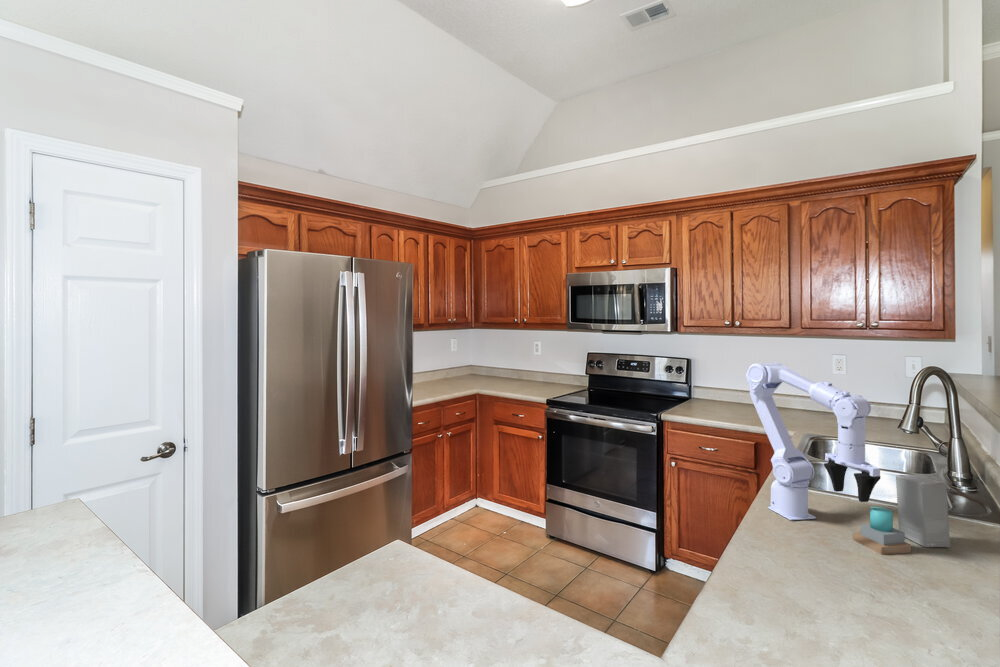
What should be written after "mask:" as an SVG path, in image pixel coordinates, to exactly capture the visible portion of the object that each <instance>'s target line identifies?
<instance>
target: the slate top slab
mask: <svg viewBox="0 0 1000 667" xmlns="http://www.w3.org/2000/svg"><path fill="white" fill-rule="evenodd" d="M860 532H861V535H863V536H865V537H867V538H869V539H871V540H873V541H875V542H878V543H880V544H882V545H891V544H900V543H905V542H906V540H905V538H906V537H905V533H904V532H902V531H899V529H897V528H895V527H893V531H892V532H882V531H878V530H875V529H873V528H871V527H870V523H867V524H865V523H864V524H860Z"/></svg>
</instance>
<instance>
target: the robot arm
mask: <svg viewBox="0 0 1000 667" xmlns="http://www.w3.org/2000/svg"><path fill="white" fill-rule="evenodd" d="M745 379H746V381H747V383H748V385H749V396H750V399H751V401H752V403H753V406H754V408H755V410H756V413H757V415H758V417H759V419H760V422H761V424H762V426H763V428H764V431H765V433H766V434H765V435H766V436H767V438H768V440H769V442H770V445H771V447H772V449H773V455H772V457H771V459H770V462H771V465H772V473H773V477H774V478H775V480H773V481H772V483H771V485H770V506H767V508H768V509H769V510H771V511H773V512H775V513H776V514H778V515H780V516H782V517H784V518H785V519H788V520H789V521H799V520H800V521H802V520H815V519H816V518H817V517H816V516H814V515H813V514H812V513H811V514H810V513H809V484H810V480H812V479H813V478H814V475H815V469H814V465H813V463H811V462H810V461H809V460H808V459H807V457H806V455H805V453H804V452H803V451H801V450H799V448H797V447H795V444H794V442H793V440H792V438H791V435H790V434H789V432H788V429H787V427H786V424H785V423H784V420H783V418H782V415H781V413H780V411H779V409H778V407H777V405H776V402H775V400H774V398H773V395H774V393H775V391H776V390H778V388H779V387H780V385H782V383H785V384H787V385H789V386H791V387H794V388H796V389H798V390H801V391H803V392H804V393H807V394H808V395H809V398H810V400H812V401H813V402H815V403H817V404H819V405H821V406H823V407H825V408H827V409H829V410H831V411H832V412H833V414H834V415H835V417H836V420H837V421H836V422H837V454H836V453H833V452H826V453H824V455H825V456H824V461H826V462H825V463H823V467H824V468H825V469H826V471H827V473H828V475H829V477H830V481H831V484H832V488H833V491H834V492H843V491H844V487H845V477H846V473H847V470H848V468H850V469H852V470H856V471H859V472H855V473H853V477H854V480H855V482H856V485H857V499H858V501H859V502H860V503H868V502H869V500H870V498H871V495H872V492H873V490H874V488H875V486H876V485H877V483H878V482H879V481H880V480H881V468H880V467H877V466H874V465H873V464H871V463H869V462H867V461H866V418H867V416H869V414H871V411H872V408H871V407H872V406H871V403H870V401H868V399H867V398H865V397H864V396H862V395H860V394H856V395H854V394H853V395H851V394H850V392H849V391H847V390H843V389H839V388H838V387H836V386H834V385H833V383H832V382H830V381H819V382H815V381H813V380H811V379H810V378H807V377H805V376H804V375H803V374H800V373H799V372H797V371H795V370H793V369H791V368H790V367H789V366H787V365H785V364H782V363H781V362H768V363H766V362H765V363H759V362H758V363H756V362H755V363H753V364H750V366H749V367H748V369H747V371H746V374H745Z"/></svg>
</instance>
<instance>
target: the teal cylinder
mask: <svg viewBox="0 0 1000 667" xmlns="http://www.w3.org/2000/svg"><path fill="white" fill-rule="evenodd" d="M869 515H870V516H869V519H870V520H869V521H870V523H869V524H870V527H871V528H873V529H875V530H878V531H882V532H892V531H893V528H894V511H893V510H891V509H889V508H886V507H882V506H870V507H869Z"/></svg>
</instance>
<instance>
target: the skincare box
mask: <svg viewBox="0 0 1000 667" xmlns="http://www.w3.org/2000/svg"><path fill="white" fill-rule="evenodd" d="M895 485H896V488H895V489H896V500H897V501H896V503H897V518H898V530H899V531H902V532H904V533H905V538H906V539H908V540H910V541H912V542H914V543H916V544H918V545H919V546H921V547H924V548H950V546H951V537H950V522H949V510H948V495H947V493H948V492H947V483H946V482H943V481H940V480H937V479H933V478H931V477H928V476H925V475H923V474H900V475H899V474H898V475H895Z"/></svg>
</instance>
